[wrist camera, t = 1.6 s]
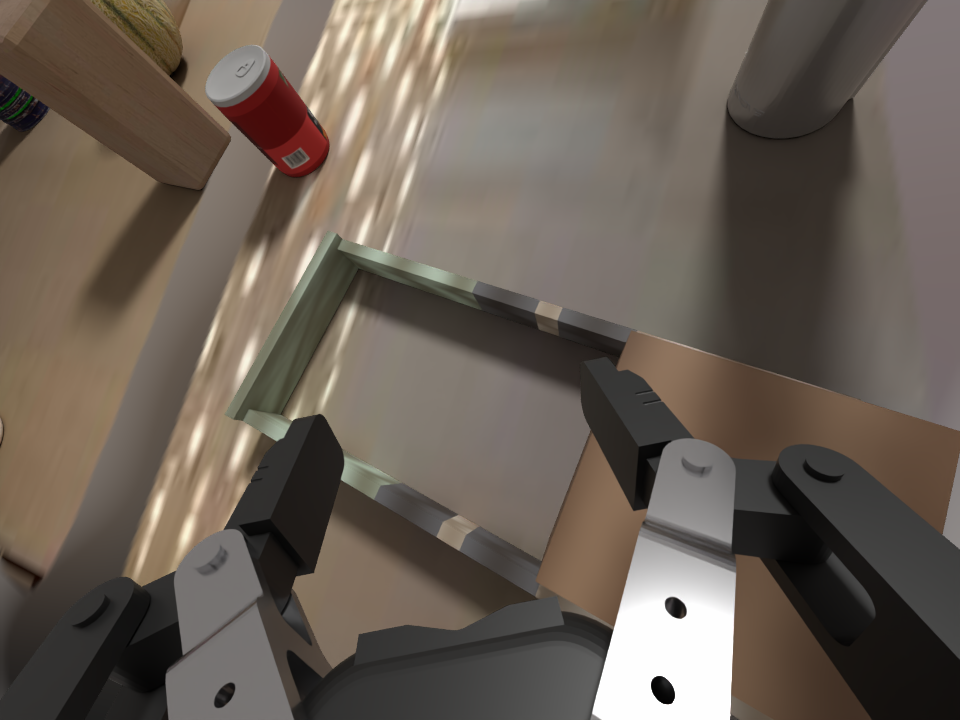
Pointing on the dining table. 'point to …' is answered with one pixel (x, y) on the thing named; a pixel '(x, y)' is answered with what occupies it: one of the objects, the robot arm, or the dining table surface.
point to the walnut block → (758, 598)
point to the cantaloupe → (147, 28)
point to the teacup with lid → (1, 430)
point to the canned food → (267, 110)
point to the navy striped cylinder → (19, 106)
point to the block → (108, 88)
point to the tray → (262, 410)
